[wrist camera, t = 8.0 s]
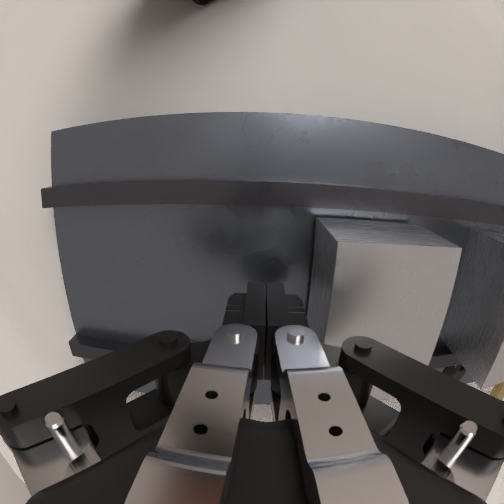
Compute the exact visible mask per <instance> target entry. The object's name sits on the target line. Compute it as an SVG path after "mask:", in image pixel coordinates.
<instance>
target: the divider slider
mask: <svg viewBox="0 0 504 504" xmlns="http://www.w3.org/2000/svg"><path fill="white" fill-rule="evenodd" d="M461 251H462V248H461V247H459V246H457V245H456V244H454V243H452V242H450V241H448V240H446V239H444V238H442V237H441V236H439V235H437V234H435V233H433V232H431V231H429V230H427V229H425V228H423V227H421V226H419V225H417V224H411V223H398V222H384V221H370V220H354V219H337V218H318V217H316V229H315V242H314V253H313V264H312V275H311V285H310V294H309V303H308V312H307V320H308V324H309V328H310V329H312V330H313V331H314V332H315V333H316V334H317V336H318V339H319V341H320V342H322V343H324V344H327V345H332V346H337V347H342V343H343V341H344V340H345V339H347V338H349V337H353V336H365V337H369V338H372V339H374V340H376V341H378V342H380V343H382V344H384V345H386V346H388V347H390V348H392V349H395V350H397V351H399V352H401V353H403V354H405V355H407V356H409V357H411V358H413V359H415V360H417V361H419V362H421V363H423V364H425V365H427V366H428V365H429V362H430V360H431V357H432V354H433V352H434V349H435V346H436V343H437V340H438V338H439V335H440V332H441V329H442V325H443V322H444V319H445V316H446V312H447V309H448V306H449V302H450V298H451V295H452V291H453V287H454V283H455V279H456V275H457V270H458V266H459V261H460V256H461ZM370 395H371V396H372V397H374V398H376V399H377V400H385V399H393V398H395V397H393V396H391V395H389V394H388V393H386V392H384V391H382V390H381V389H379V388H377V387H376V386H374V385H373V388H372V390H371V393H370Z"/></svg>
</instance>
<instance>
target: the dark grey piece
mask: <svg viewBox="0 0 504 504" xmlns="http://www.w3.org/2000/svg"><path fill="white" fill-rule="evenodd" d="M51 170H52V187H47V188H42V189H41V196H42V208H51V207H54V217H55V227H56V235H57V243H58V250H59V256H60V262H61V268H62V274H63V279H64V284H65V289H66V294H67V299H68V303H69V307H70V312H71V316H72V320H73V324H74V327H75V331H76V335H75V336H74V337H73V338H72V339H71V340H70V341H69V345H70V348H71V351H72V354H73V356H77V357H82V358H84V361H85V363H86V362H88V361H91V360H93V359H96V358H98V357H101V356H103V355H105V354H108V353H110V352H113V351H115V350H117V349H120V348H122V347H125V346H127V345H129V344H132V343H134V342H136V341H139V340H141V339H143V338H146V337H148V336H150V335H153V334H155V333H157V332H161V331H166V330H174V331H180V332H183V333H185V334H186V335H187V336H188V337H189V338H190V343H196V342H203V341H207V340H210V339H212V337H213V335H214V332H215V330H216V329H217V328H219V327H220V326H222V323H223V319H224V315H225V311H226V306H227V302H228V298H229V297H230V296H231V295H232V294H234V293H247V284H248V282H265V296H266V282H268V283H284V289H285V294H296V295H297V296H298V297H299V298H300V299H301V300H302V301H303V305H304V309H305V313H306V317H307V312H308V303H309V294H310V285H311V275H312V264H313V253H314V242H315V229H316V217H318V218H337V219H354V220H370V221H384V222H398V223H411V224H417V225H419V226H421V227H423V228H425V229H427V230H429V231H431V232H433V233H435V234H437V235H439V236H441V237H442V238H444V239H446V240H448V241H450V242H452V243H454V244H456V245H457V246H459V247H461V248H462V251H461V256H460V261H459V266H458V270H457V275H456V279H455V283H454V287H453V291H452V295H451V298H450V302H449V306H448V309H447V312H446V316H445V319H444V322H443V325H442V329H441V332H440V335H439V338H438V340H437V343H436V346H435V349H434V352H433V354H432V357H431V360H430V362H429V365H428V366H429V367H431V368H433V369H435V370H438V371H440V372H442V373H444V374H446V375H448V376H450V377H452V378H454V379H456V380H459V381H461V382H463V383H465V384H467V383H471V382H476V383H477V385H478V386H479V387H480V389H483V388H486V387H490V386H493V385H495V386H494V388H493V390H492V392H491V394H490V395H491V396H493V397H495V398H497V399H499V400H502V398H503V397H504V154H501V153H498V152H495V151H492V150H489V149H486V148H483V147H479V146H476V145H473V144H469V143H466V142H462V141H458V140H454V139H451V138H447V137H443V136H439V135H434V134H430V133H426V132H421V131H416V130H411V129H406V128H401V127H396V126H390V125H384V124H378V123H372V122H365V121H358V120H351V119H343V118H334V117H324V116H313V115H300V114H284V113H259V112H212V113H187V114H171V115H158V116H147V117H138V118H129V119H121V120H114V121H107V122H100V123H94V124H88V125H82V126H77V127H71V128H66V129H61V130H57V131H52V133H51ZM155 388H156V385H155V381H152V382H150V383H148V384H146V385H144V386H142V387H140V388H138V389H136V390H134V391H138V392H144V393H148V392H150V391H152V390H154V389H155ZM270 388H271V380H264V364H263V380H257V388H256V390H255V398H254V404H271V401H270Z"/></svg>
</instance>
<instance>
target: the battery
mask: <svg viewBox="0 0 504 504" xmlns="http://www.w3.org/2000/svg"><path fill="white" fill-rule="evenodd" d="M193 1H194V2H195V3H197V4H199V5H205V4H207V3H209V2H211V1H212V0H193Z"/></svg>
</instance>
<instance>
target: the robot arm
mask: <svg viewBox="0 0 504 504" xmlns="http://www.w3.org/2000/svg"><path fill="white" fill-rule="evenodd" d="M263 364H264V380H271V388H270V401H271V409H272V416H273V422H260V421H256V420H251V417H252V411H253V404H254V398H255V390H256V388H257V380H263ZM152 381H155V385H156V388H155V389H154V390H152V391H150V392H148V393H146V394H144V395H142V396H140V397H138V398H136V399H134V400H132V401H130V402H128V403H126V399H127V397H128V395H129V394H130V393H131V392H133V391H134V390H136V389H138V388H140V387H142V386H144V385H146V384H148V383H150V382H152ZM373 385H374V386H376V387H377V388H379V389H381V390H382V391H384V392H386V393H388V394H389V395H391V396H393V397H395V398H396V399H397V400H398V401H399V402H400V405H401V411H400V412H398V411H396V410H395V409H393V408H391V407H389V406H388V405H386V404H384V403H383V402H381V401H379V400H377V399H376V398H374V397H372V396H371V395H370V393H371V390H372V388H373ZM0 435H1V436H2V437H3V440H4V442H5V443H6V445H7V446H8V447H9V449H10V450H11V451H12V453H13V454H14V457H15V459H16V462H17V464H18V467H19V469H20V472H21V474H22V476H23V479H24V481H25V483H26V485H27V487H28V490H29V492H30V494H31V496H32V497H31V498H30V499H29V500H28V501H27V503H26V504H487V503H486V502H485V501H486V499H487V497H488V495H489V493H490V491H491V488H492V486H493V484H494V482H495V480H496V477H497V475H498V473H499V470H500V468H501V466H502V463H503V462H504V401H501V400H499V399H497V398H495V397H493V396H491V395H488V394H486V393H484V392H482V391H480V390H478V389H476V388H473V387H471V386H469V385H467V384H465V383H463V382H461V381H459V380H456V379H454V378H452V377H450V376H448V375H446V374H444V373H442V372H440V371H438V370H435V369H433V368H431V367H429V366H427V365H425V364H423V363H421V362H419V361H417V360H415V359H413V358H411V357H409V356H407V355H405V354H403V353H401V352H399V351H397V350H395V349H392V348H390V347H388V346H386V345H384V344H382V343H380V342H378V341H376V340H374V339H372V338H369V337H365V336H353V337H349V338H347V339H345V340H344V341H343V343H342V347H337V346H332V345H327V344H324V343H322V342H320V341H319V339H318V336H317V334H316V333H315V332H314V331H313V330H312V329H310V328H309V324H308V320H307V317H306V313H305V309H304V305H303V301H302V300H301V299H300V298H299V297H298V296H297V295H296V294H285V289H284V283H268V282H266V296H265V282H248V284H247V293H234V294H232V295H231V296H230V297H229V298H228V302H227V306H226V311H225V315H224V319H223V323H222V326H220V327H219V328H217V329H216V330H215V332H214V335H213V337H212V339H210V340H207V341H203V342H196V343H190V338H189V337H188V336H187V335H186V334H185V333H183V332H180V331H174V330H166V331H161V332H157V333H155V334H153V335H150V336H148V337H146V338H143V339H141V340H139V341H136V342H134V343H132V344H129V345H127V346H125V347H122V348H120V349H117V350H115V351H113V352H110V353H108V354H105V355H103V356H101V357H98V358H96V359H93V360H91V361H88V362H86V363H84V364H81V365H79V366H76V367H74V368H71V369H69V370H66V371H64V372H61V373H58V374H56V375H53V376H51V377H48V378H46V379H43V380H40V381H38V382H35V383H33V384H30V385H27V386H25V387H22V388H19V389H17V390H14V391H11V392H9V393H6V394H3V395H1V396H0Z"/></svg>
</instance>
